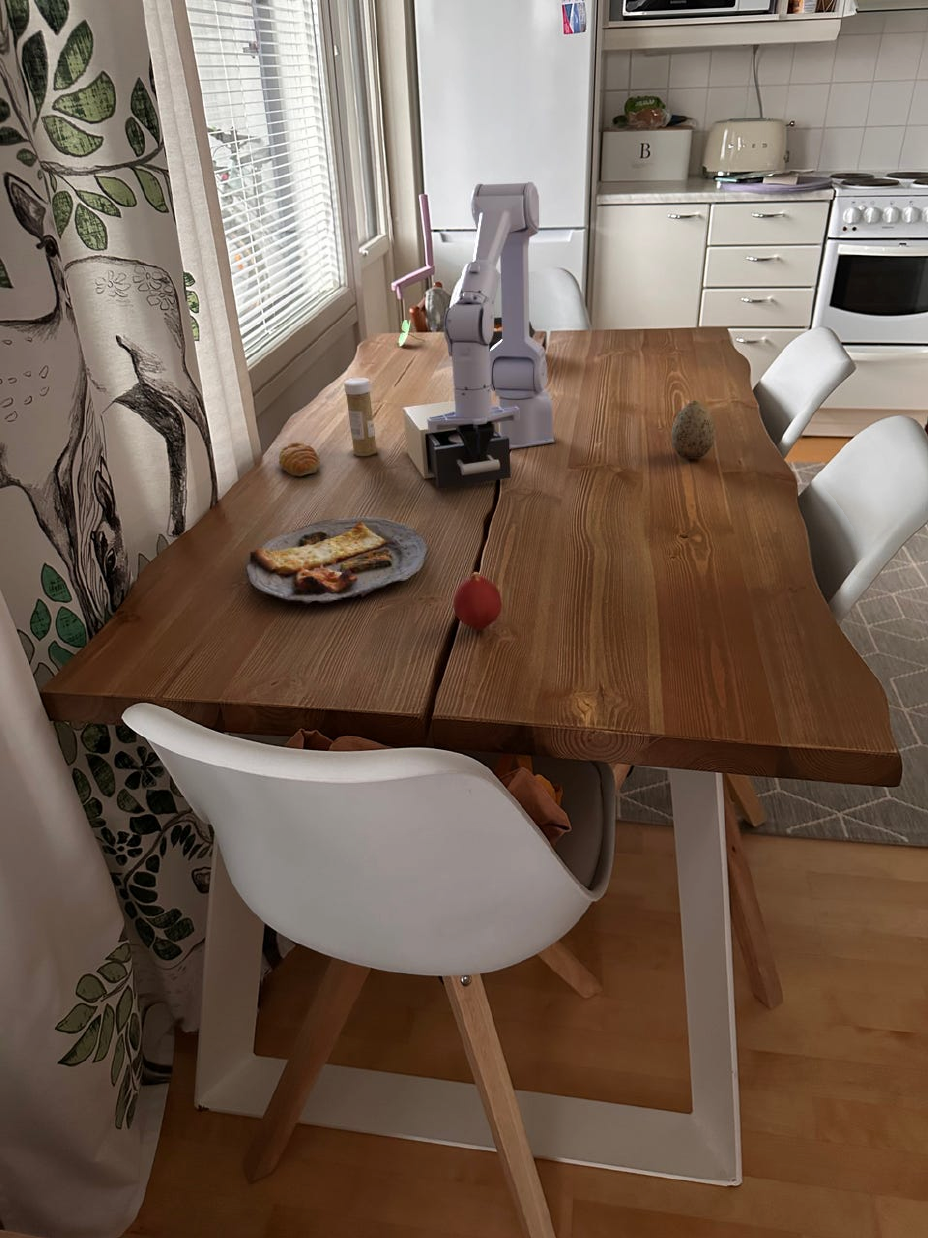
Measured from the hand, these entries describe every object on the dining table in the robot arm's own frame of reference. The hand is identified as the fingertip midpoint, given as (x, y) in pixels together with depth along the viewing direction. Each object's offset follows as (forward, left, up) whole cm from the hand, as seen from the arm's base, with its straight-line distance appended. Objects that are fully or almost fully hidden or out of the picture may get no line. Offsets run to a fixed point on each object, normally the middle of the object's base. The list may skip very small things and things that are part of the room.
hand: (476, 469), depth 149 cm
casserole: (-28, -78, -4) cm, 83 cm away
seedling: (-16, -105, -4) cm, 106 cm away
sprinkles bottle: (+14, -27, -4) cm, 31 cm away
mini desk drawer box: (0, -17, -4) cm, 17 cm away
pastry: (+26, -24, -4) cm, 36 cm away
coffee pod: (0, -7, -2) cm, 8 cm away
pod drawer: (0, -6, -3) cm, 7 cm away
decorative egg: (-38, 0, -4) cm, 38 cm away
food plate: (+26, +19, -4) cm, 32 cm away
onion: (+12, +42, -4) cm, 44 cm away
